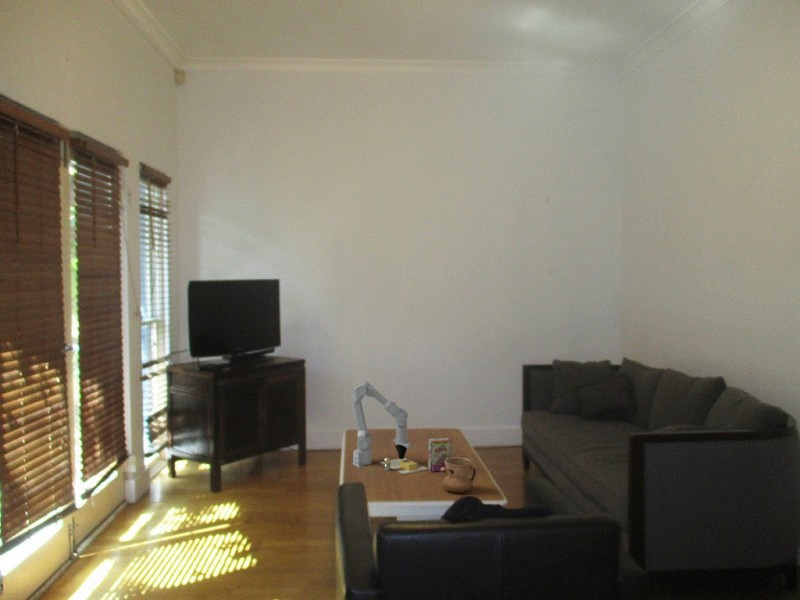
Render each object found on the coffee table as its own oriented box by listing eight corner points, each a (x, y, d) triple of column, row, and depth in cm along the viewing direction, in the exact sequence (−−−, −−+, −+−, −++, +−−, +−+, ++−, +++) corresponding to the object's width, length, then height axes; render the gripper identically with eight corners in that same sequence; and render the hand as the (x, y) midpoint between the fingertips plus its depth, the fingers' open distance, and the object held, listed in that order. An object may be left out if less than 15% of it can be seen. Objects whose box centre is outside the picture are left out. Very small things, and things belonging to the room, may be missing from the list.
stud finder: (408, 470, 349) (408, 464, 349) (399, 466, 357) (399, 460, 357) (417, 469, 352) (417, 463, 352) (407, 464, 360) (407, 459, 359)
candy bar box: (430, 472, 349) (430, 441, 349) (428, 469, 354) (428, 438, 353) (451, 471, 352) (451, 439, 351) (448, 468, 357) (448, 437, 356)
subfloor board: (402, 475, 345) (402, 473, 344) (378, 464, 365) (378, 462, 365) (428, 470, 353) (428, 468, 353) (404, 459, 373) (404, 457, 373)
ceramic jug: (444, 496, 313) (445, 466, 312) (435, 486, 327) (436, 457, 326) (481, 494, 317) (482, 464, 316) (471, 483, 331) (471, 455, 331)
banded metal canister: (386, 472, 349) (386, 459, 349) (383, 471, 352) (383, 458, 352) (391, 471, 351) (391, 458, 351) (388, 470, 354) (388, 457, 353)
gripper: (415, 435, 355) (415, 461, 356) (400, 429, 367) (400, 454, 368) (404, 437, 351) (403, 463, 352) (389, 431, 364) (389, 456, 365)
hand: (401, 458), depth 360 cm, fingers closed
